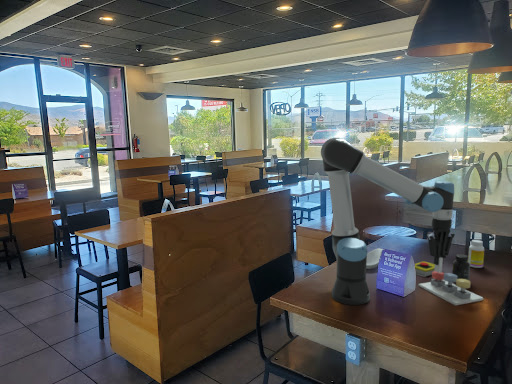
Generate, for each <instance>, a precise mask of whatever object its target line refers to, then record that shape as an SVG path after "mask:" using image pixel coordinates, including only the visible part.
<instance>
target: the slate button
mask: <svg viewBox="0 0 512 384" xmlns="http://www.w3.org/2000/svg"><path fill="white" fill-rule="evenodd" d="M444 273H445V272H444ZM444 280H445V281H447V282H448V285H452V284H453V283H455V282H456V280H457V275H455V274H452V272H451V273H449V272H447V273H445V274H444Z"/></svg>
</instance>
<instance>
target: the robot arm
mask: <svg viewBox="0 0 512 384" xmlns="http://www.w3.org/2000/svg"><path fill="white" fill-rule="evenodd" d="M320 156H321V158H322V165H323V172H324V173H325V174H326V175H327V176H328V184H329V186H328V187H329V194H330V201H331V210H332V218H333V226H334V228H333V229H332V231H331V238H332V239H331V241H332V245H331V247H332V251H333V253H334V256H335V258H336V259H335V260H336V278H335V281H334V284H333V287H332V289H331V297H332V299H333V300H334V301H336V302H338V303H341V304H344V305H348V306H349V305H350V306H361V305H365V304H366V303H369V301H370V298H371V294H370V290H369V287H368V282H367V269H366V262H367V253H368V246H367V244H366V243H365V241H364V240H362V239H360V231H359V229H358V228H357V227H355V218H354V217H355V216H354V209H353V208H354V207H353V202H352V201H353V198H352V191H351V182H350V174H351V175H353V174H357V175H358V176H360V177H362V178H364V179H366V180H368V181H370V182H372V183H373V184H376V185H378V186H380V187H382V188H383V189H385V190H387V191H389V192H391V193H393V194H395V195H396V196H399V197H400V198H402V199H403V201H404V203H405V204H408V205H416V206H418V207H420V208H421V209H424V210H425V211H426V212H430V213H432V218H431V227H432V229H431V233H430V234H426V239H427V241H428V248H429V254H430V256H431V257H433V258H434V259H433V264H435V268H434V271H436V272H438V273H442V272H443V265H444V260H445V259H446V258H447V256H449V254H450V250H451V246H452V242H453V238H454V237H455V235H456V234H455V233H453V232H451V228H452V226H453V225H452V224H453V222H452V221H453V220H452V218H453V208H454V198H455V183H454V182H452V181H445V180H440V181H435V182H434V184H433V185H432V186H424V185H422V184H420V183H418V182H416V181H414V180H412V179H411V178H409V177H407V176H404V175H402V174H400V173H399V172H397V171H395V170H393V169H391V168H390V167H388V166H386V165H383V164H382V163H379V162H377V161H376V160H374V159H372V158H370V157H368V156H367V155H366V154H365V152H364V151H362V150H361V149H359V148H357V147H356V146H355V145H353V144H351V143H350V142H349V141H347V140H346V139H343V138H340V137H332V138H329V139H327V140H326V141H325V142H324V143H323V145H322V146H321V149H320Z"/></svg>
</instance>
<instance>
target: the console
mask: <svg viewBox="0 0 512 384" xmlns="http://www.w3.org/2000/svg"><path fill="white" fill-rule="evenodd" d="M418 287H420V288H422V289H423V290H425V291H427V292H429V293H431V294H433V295H435V296H436V297H438V298H441V299H443V300H445V301H446V302H448V303H450V304H451V305H453V306H459V305H464V304H469V303H471V304H472V303H475V302H480V301H484V297H483V296H481V295H478V294H476V293H474V292H473V291H469V290H467V289H465V291H461V288H460V287H458V286H456V283H452V285H448V282H447V281H445V280H440V281H439V282H437V281H436V279H434V278H431V279H430V281H428V282H423V283H418Z"/></svg>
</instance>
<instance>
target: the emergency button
mask: <svg viewBox="0 0 512 384" xmlns="http://www.w3.org/2000/svg"><path fill="white" fill-rule="evenodd" d="M414 264H415V269H416V274H415V275H417V276H420V277H428V276H432V272H433V271H434V268H435V264H434V263H432V262H427V261H425V260H424V261H423V260H422V261H420V262H416V263H414Z"/></svg>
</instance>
